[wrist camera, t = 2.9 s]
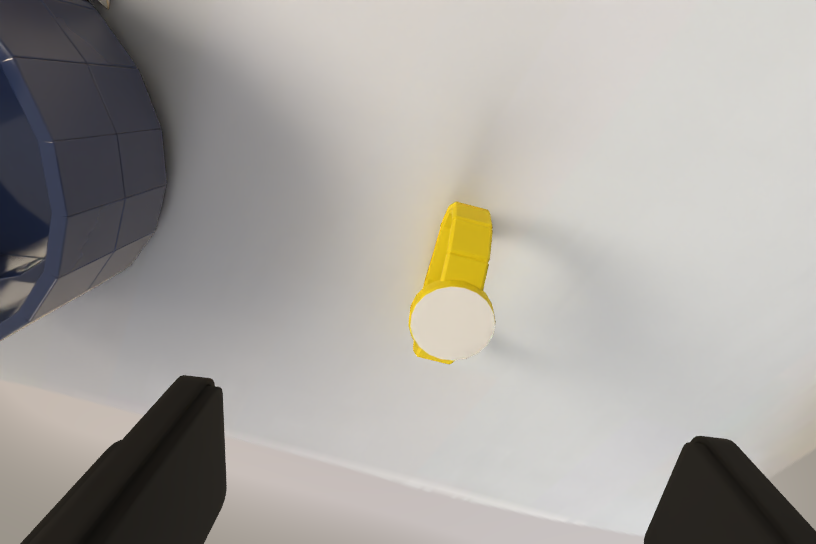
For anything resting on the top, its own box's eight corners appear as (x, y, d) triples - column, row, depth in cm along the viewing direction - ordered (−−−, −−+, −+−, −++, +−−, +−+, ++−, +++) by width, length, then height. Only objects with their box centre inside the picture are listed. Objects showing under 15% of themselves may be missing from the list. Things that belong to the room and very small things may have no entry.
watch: (434, 183, 18) (435, 221, 13) (499, 200, 18) (527, 244, 13) (401, 308, 21) (389, 386, 15) (458, 322, 21) (468, 405, 15)
